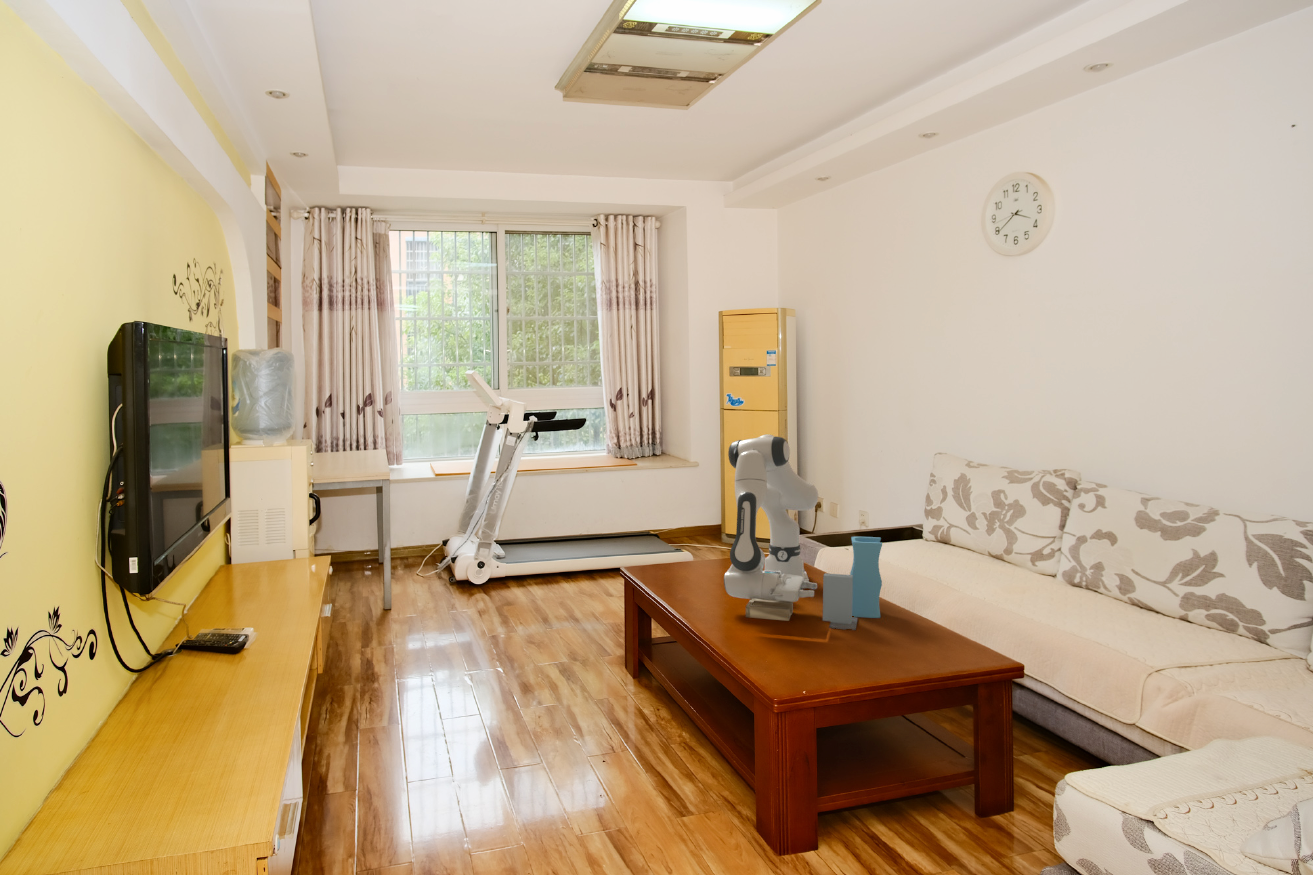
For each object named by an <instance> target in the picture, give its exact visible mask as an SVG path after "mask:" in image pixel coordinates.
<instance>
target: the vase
mask: <svg viewBox="0 0 1313 875" xmlns="http://www.w3.org/2000/svg"><path fill="white" fill-rule="evenodd" d="M881 540H882V538H881V537H873V536H851V544H852V551H853V552H852V553H853V554H852V556H853V560H852V565H851V570H850V574H849V575H853V596H852V616H854V617H856V618H869V619H880V618H881V610H880V594H881V590H882V586H883V581H882V577H881V576H882V575H881V572H880V567H879V566H880V565H879V564H880V563H879V560H880V555H881V551H882V547H883V542H881Z"/></svg>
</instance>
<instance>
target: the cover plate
mask: <svg viewBox="0 0 1313 875" xmlns="http://www.w3.org/2000/svg"><path fill="white" fill-rule="evenodd" d="M822 582H823V584H822V586H823V587H822V589H823V591H822V592H823V593H822V621H823V622H832V623H844V624H851V623H852V596H853V575H850V574H839V573H829V572H828V573H826V572H825V573H824V574H823V581H822Z"/></svg>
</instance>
